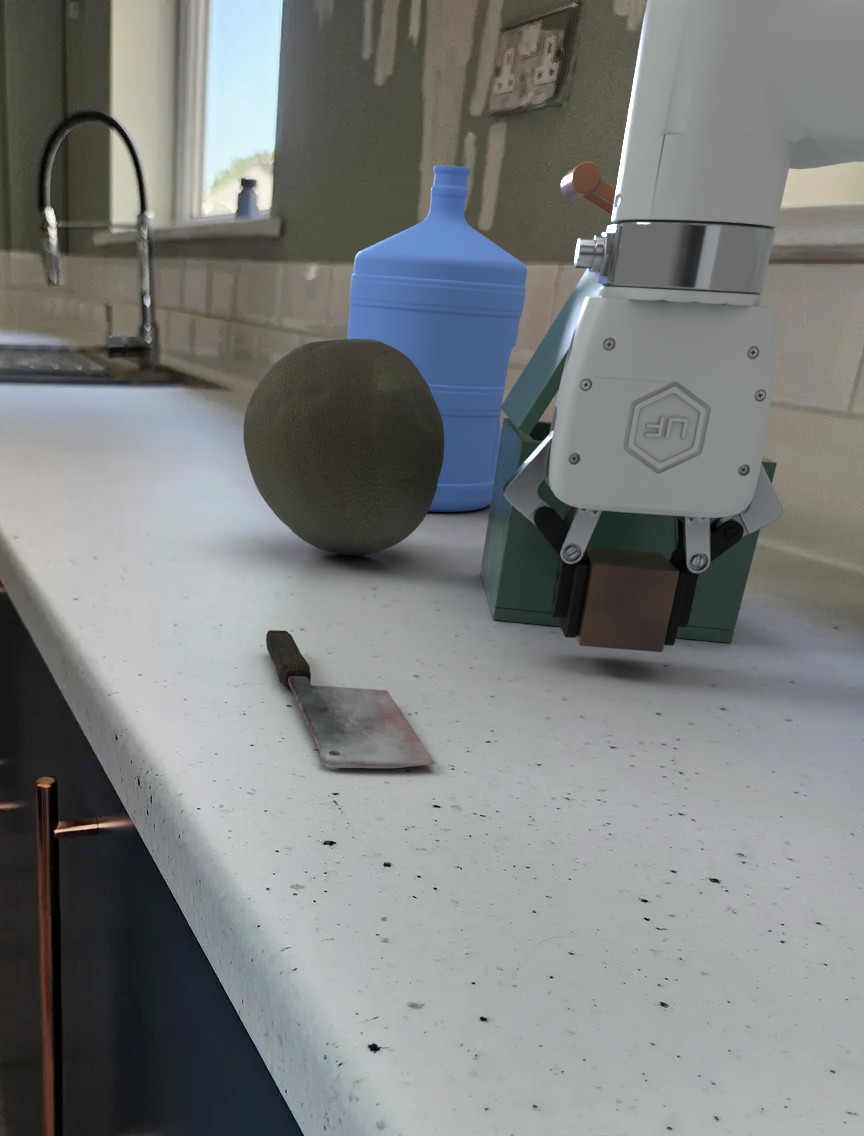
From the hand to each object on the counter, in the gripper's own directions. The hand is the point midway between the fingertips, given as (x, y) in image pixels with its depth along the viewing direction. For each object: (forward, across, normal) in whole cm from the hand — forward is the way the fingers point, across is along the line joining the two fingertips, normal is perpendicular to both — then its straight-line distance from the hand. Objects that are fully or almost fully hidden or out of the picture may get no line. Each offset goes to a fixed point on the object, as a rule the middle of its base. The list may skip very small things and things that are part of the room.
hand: (615, 631), depth 62 cm
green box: (+2, +1, +14) cm, 14 cm away
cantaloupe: (+2, -17, +22) cm, 28 cm away
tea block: (0, 0, 0) cm, 0 cm away
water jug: (+2, -11, +50) cm, 51 cm away
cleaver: (+2, -15, -11) cm, 18 cm away
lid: (-16, -2, +14) cm, 21 cm away
